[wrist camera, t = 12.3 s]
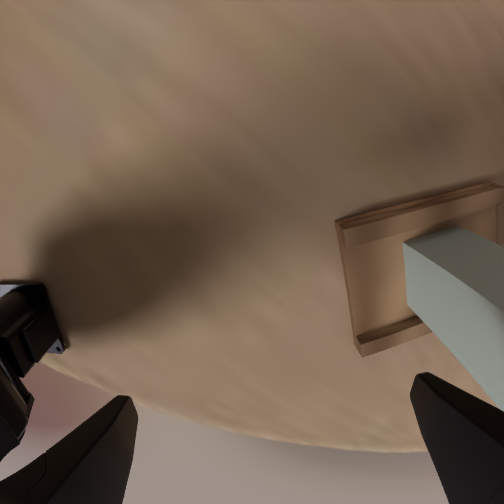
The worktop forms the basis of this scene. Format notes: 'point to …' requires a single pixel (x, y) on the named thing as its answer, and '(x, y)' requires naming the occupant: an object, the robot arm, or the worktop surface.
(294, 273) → the worktop surface
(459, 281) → the block
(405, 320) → the walnut trough
